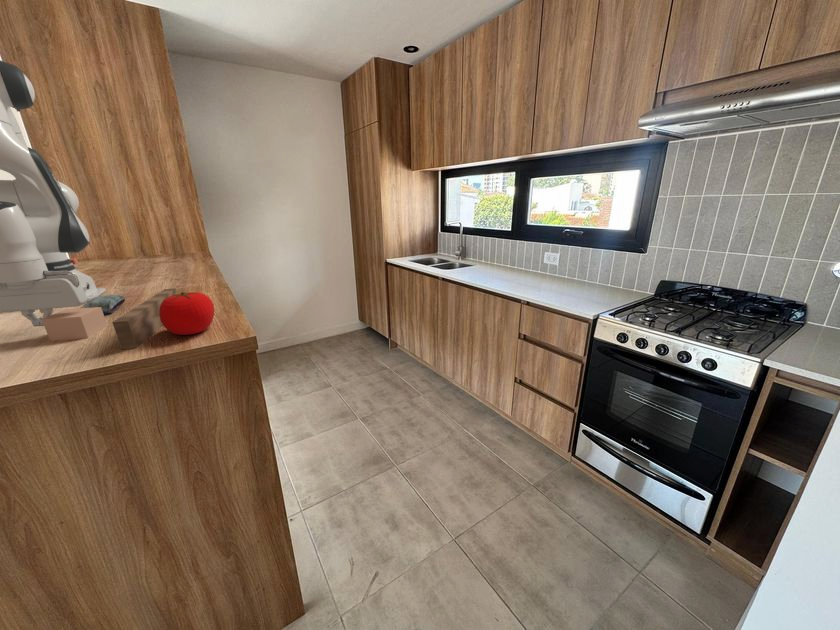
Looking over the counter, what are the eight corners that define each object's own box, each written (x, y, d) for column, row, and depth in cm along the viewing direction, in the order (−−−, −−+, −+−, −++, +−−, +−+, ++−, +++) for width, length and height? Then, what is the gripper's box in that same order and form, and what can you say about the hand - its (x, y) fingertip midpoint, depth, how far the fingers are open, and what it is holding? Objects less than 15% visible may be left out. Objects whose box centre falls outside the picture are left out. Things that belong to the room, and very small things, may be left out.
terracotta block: (73, 329, 90) (65, 309, 88) (108, 327, 92) (101, 307, 90) (50, 341, 83) (41, 319, 81) (88, 338, 85) (80, 316, 83)
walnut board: (170, 310, 105) (164, 289, 103) (181, 309, 106) (175, 288, 104) (121, 349, 78) (112, 322, 76) (136, 347, 79) (127, 320, 77)
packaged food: (77, 319, 98) (72, 303, 96) (95, 308, 108) (90, 293, 106) (115, 315, 101) (110, 300, 99) (128, 305, 111) (124, 291, 110)
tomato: (160, 344, 81) (147, 301, 77) (171, 326, 92) (160, 288, 88) (215, 336, 86) (206, 295, 82) (220, 320, 97) (211, 283, 93)
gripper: (82, 267, 85) (100, 317, 90) (-22, 272, 80) (3, 325, 84) (65, 272, 79) (85, 325, 84) (-48, 278, 74) (-20, 334, 79)
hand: (43, 325), depth 84 cm, fingers closed
